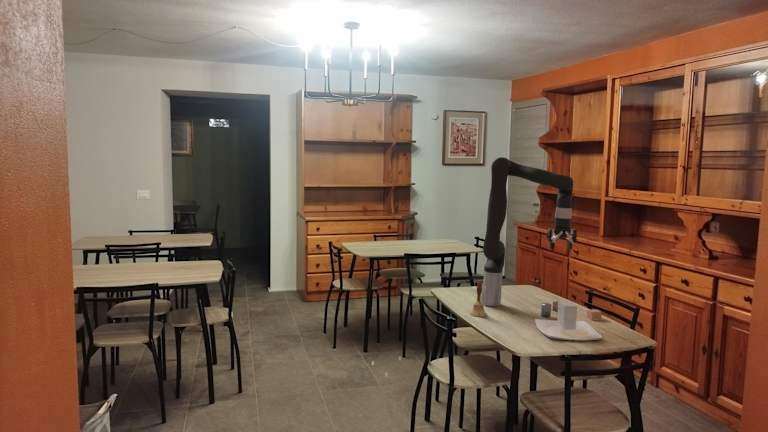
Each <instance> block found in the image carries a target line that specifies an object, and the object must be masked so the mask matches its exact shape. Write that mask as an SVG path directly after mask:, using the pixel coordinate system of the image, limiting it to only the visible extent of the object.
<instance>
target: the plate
mask: <svg viewBox="0 0 768 432" xmlns="http://www.w3.org/2000/svg"><path fill="white" fill-rule="evenodd" d="M534 321H535V326H536V327H537V329H538V330H539V331H540V332H541V333H542V335H545V336H546V337H548V338H551V339H555V340H563V341H572V340H574V341H575V342H578V341H580V342H585V341H598V340H602V339H603V336H602V335H601V334H600V333H599V332H598V331H596V329H594V328H593V327H592V326H591V325H589V324H588V323H587V322H586V321H585V320H576V328H577V329H581V330H584V331H586V332H588V334H589V336H588V337H586V338H566V337H561V336H559V335H560V333H561V329H562V328H561V327H560V326H559V325H557V320H549V319H537V318H535V319H534ZM556 331H558V333H559V334H556V335H554V334H555V333H556ZM557 335H558V336H557Z"/></svg>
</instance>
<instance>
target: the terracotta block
mask: <svg viewBox="0 0 768 432" xmlns="http://www.w3.org/2000/svg"><path fill="white" fill-rule="evenodd" d="M586 310H587V311H586V318H587V317H588V318H589V320H590V319H591V320H590V321H595V320H594V319H601V320H602V316H603V312H602V311H600V309H586ZM588 318H587V319H588Z"/></svg>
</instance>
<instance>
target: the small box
mask: <svg viewBox="0 0 768 432" xmlns="http://www.w3.org/2000/svg"><path fill="white" fill-rule="evenodd" d="M577 314H578V306H577V305H576V304H574V303H573V302H572V301H560V300H558V312H557V319H556V321H557V325H559V326H560V327H561V328H562V329H563V330H576V321H577Z"/></svg>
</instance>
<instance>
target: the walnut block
mask: <svg viewBox="0 0 768 432" xmlns="http://www.w3.org/2000/svg"><path fill="white" fill-rule="evenodd" d="M558 301H559V300H558ZM558 301H552V311H553V312H555V313H558Z"/></svg>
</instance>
